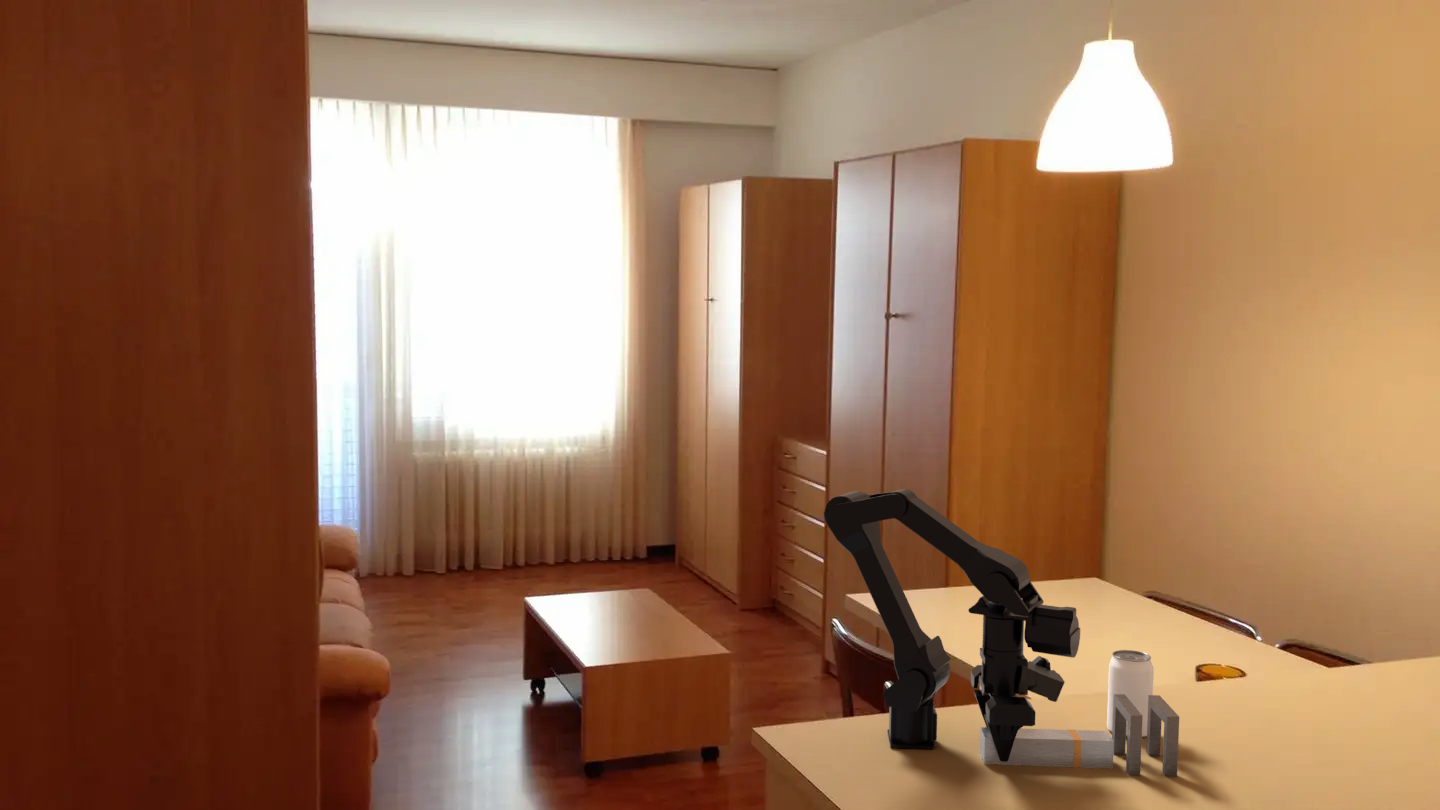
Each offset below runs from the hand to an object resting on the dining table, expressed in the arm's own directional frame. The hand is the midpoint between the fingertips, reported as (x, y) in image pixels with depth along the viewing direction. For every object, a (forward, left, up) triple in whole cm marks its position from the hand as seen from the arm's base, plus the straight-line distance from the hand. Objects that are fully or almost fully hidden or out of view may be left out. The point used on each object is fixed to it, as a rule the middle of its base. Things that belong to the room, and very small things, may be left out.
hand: (999, 752), depth 171 cm
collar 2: (+23, 0, -1) cm, 23 cm away
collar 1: (+18, 0, -1) cm, 18 cm away
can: (+22, +13, -1) cm, 25 cm away
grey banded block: (+6, 0, -1) cm, 7 cm away
